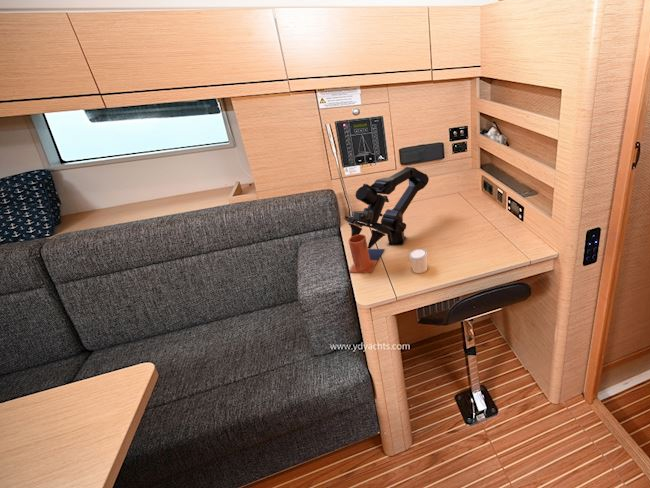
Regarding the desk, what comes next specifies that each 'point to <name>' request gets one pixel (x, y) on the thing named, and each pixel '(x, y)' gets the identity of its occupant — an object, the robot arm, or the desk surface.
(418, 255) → the shot glass
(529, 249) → the desk surface
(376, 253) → the sorting mat
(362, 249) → the terracotta cup
